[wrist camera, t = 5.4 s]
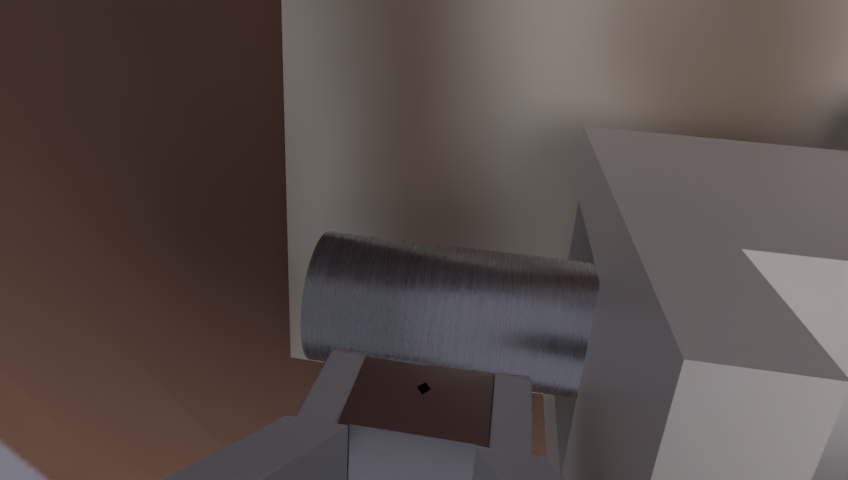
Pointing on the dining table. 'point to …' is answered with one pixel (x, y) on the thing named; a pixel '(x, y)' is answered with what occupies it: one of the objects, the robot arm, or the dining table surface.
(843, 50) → the rod holder plate
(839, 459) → the sleeve
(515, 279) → the pipe
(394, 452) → the robot arm
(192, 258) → the dining table surface
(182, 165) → the dining table surface
